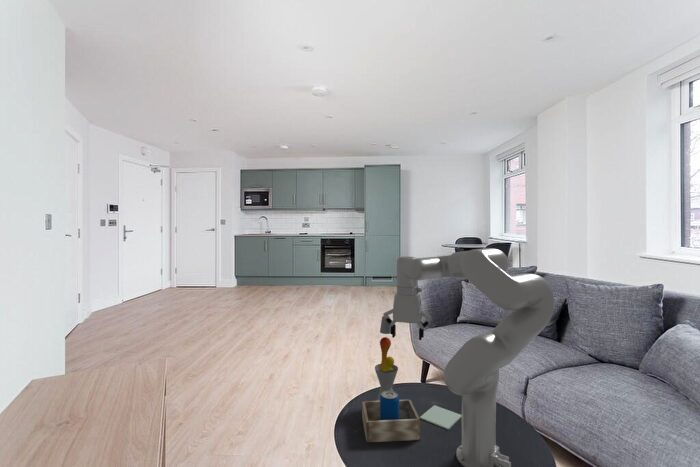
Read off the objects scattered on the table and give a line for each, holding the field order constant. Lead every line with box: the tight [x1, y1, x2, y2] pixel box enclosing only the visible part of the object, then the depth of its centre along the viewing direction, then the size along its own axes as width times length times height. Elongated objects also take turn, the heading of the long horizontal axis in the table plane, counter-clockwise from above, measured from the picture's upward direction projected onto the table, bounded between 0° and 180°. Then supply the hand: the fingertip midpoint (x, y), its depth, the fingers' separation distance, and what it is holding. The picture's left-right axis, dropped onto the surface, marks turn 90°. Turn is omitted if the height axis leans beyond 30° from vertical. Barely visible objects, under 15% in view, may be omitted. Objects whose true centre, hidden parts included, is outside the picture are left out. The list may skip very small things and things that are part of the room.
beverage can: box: [380, 390, 400, 420], centre depth 119 cm, size 6×6×12 cm
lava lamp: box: [374, 315, 399, 401], centre depth 134 cm, size 9×9×35 cm
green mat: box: [419, 404, 462, 431], centre depth 126 cm, size 11×11×1 cm
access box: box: [361, 398, 421, 443], centre depth 119 cm, size 18×14×6 cm
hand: (407, 337), depth 126 cm, fingers open, 9 cm apart
